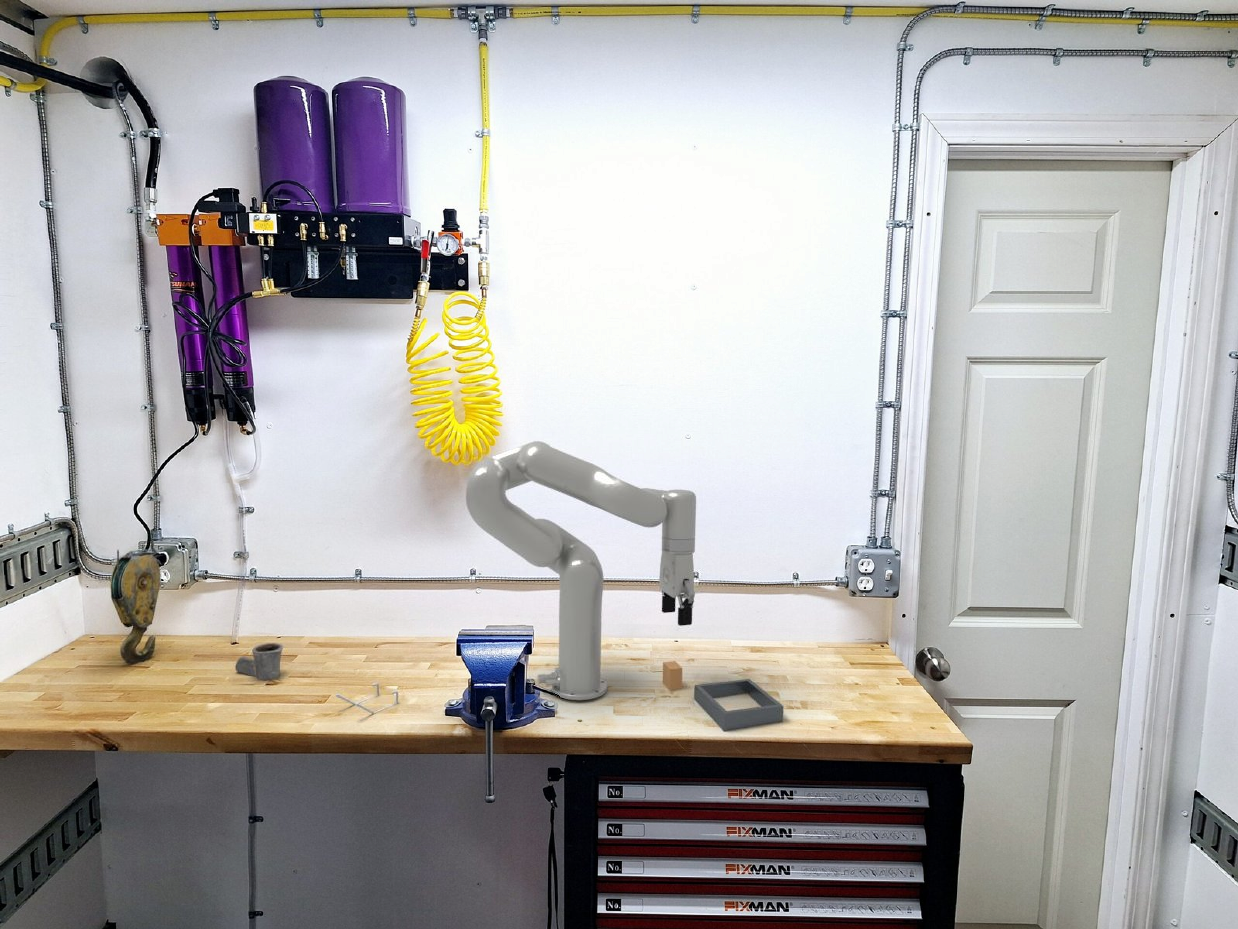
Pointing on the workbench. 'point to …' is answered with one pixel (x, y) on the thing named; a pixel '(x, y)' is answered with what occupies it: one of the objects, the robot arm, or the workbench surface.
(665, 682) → the tan stepped block
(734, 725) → the well box
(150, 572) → the pulley block
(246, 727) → the workbench surface
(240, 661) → the pipe
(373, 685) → the wall mount rack
